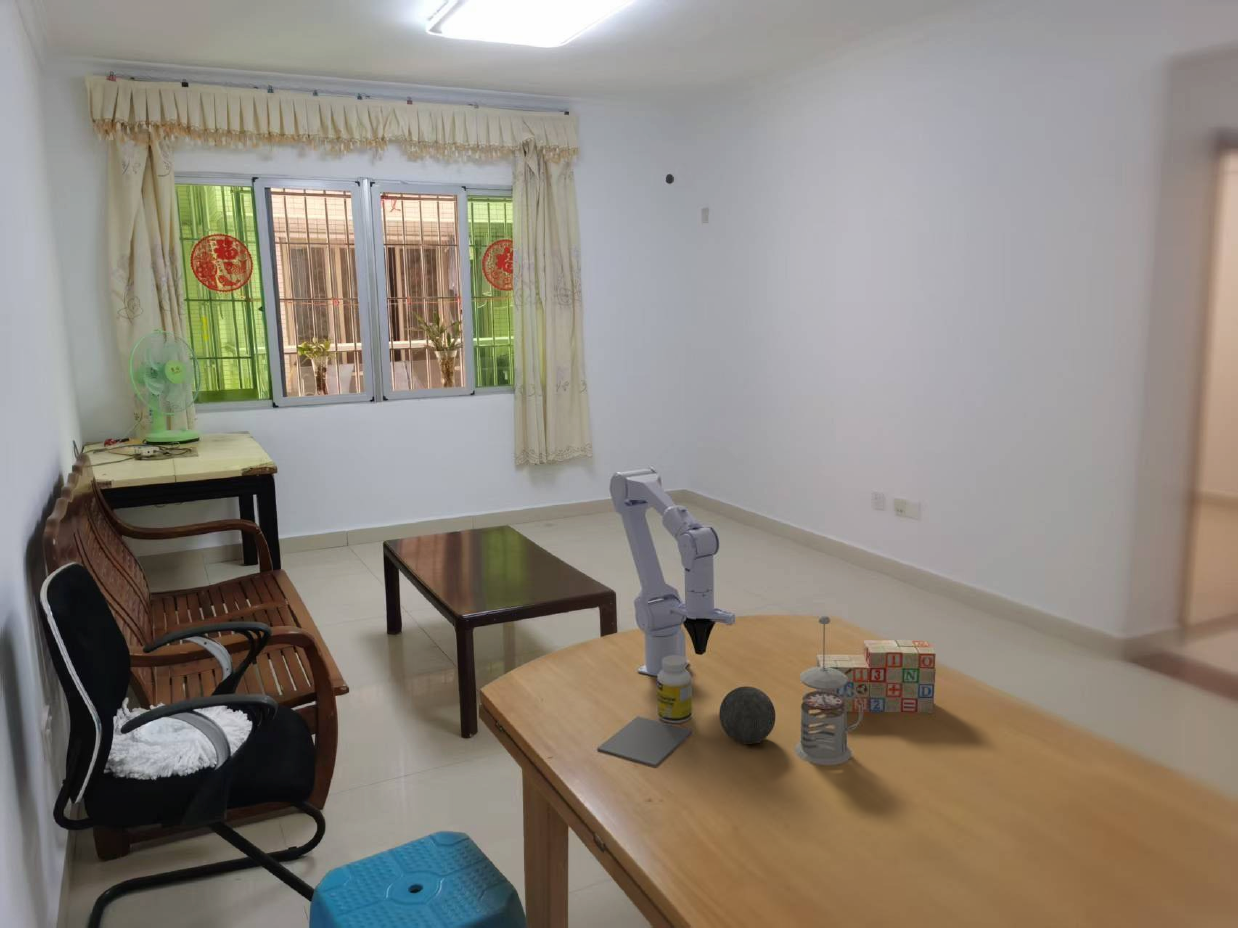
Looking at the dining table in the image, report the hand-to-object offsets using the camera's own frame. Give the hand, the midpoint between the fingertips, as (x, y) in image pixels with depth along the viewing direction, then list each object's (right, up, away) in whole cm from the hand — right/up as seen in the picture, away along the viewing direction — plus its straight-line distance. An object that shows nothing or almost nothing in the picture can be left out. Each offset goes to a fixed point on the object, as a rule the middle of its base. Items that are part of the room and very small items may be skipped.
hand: (700, 652), depth 178 cm
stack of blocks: (+33, -9, -5) cm, 35 cm away
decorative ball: (+7, -12, -17) cm, 23 cm away
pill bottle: (-6, -11, -7) cm, 14 cm away
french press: (+20, -13, -22) cm, 33 cm away
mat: (-11, -13, -17) cm, 24 cm away
